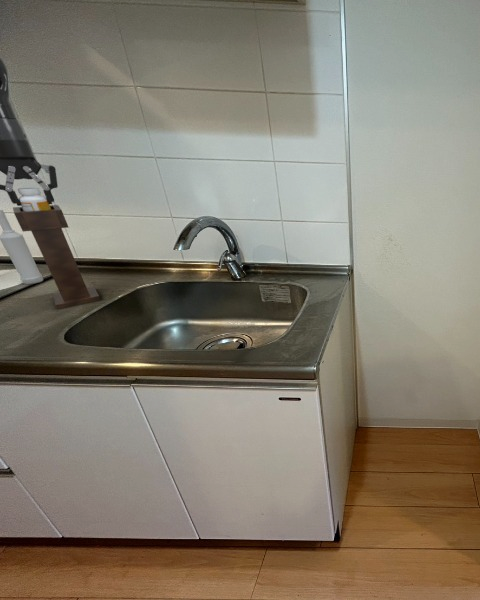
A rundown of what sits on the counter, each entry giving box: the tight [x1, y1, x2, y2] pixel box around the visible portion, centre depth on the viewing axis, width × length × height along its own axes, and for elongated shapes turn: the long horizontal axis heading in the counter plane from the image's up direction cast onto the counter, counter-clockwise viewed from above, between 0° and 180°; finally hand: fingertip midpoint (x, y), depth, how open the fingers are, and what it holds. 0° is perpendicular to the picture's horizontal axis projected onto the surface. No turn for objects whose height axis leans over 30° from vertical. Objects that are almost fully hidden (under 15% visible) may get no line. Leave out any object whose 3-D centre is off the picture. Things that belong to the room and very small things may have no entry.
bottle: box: [0, 209, 44, 285], centre depth 104 cm, size 5×5×25 cm
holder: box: [12, 204, 101, 310], centre depth 94 cm, size 10×10×29 cm
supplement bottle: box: [17, 187, 51, 211], centre depth 87 cm, size 5×5×10 cm
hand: (35, 204), depth 87 cm, fingers closed on supplement bottle, 5 cm apart
